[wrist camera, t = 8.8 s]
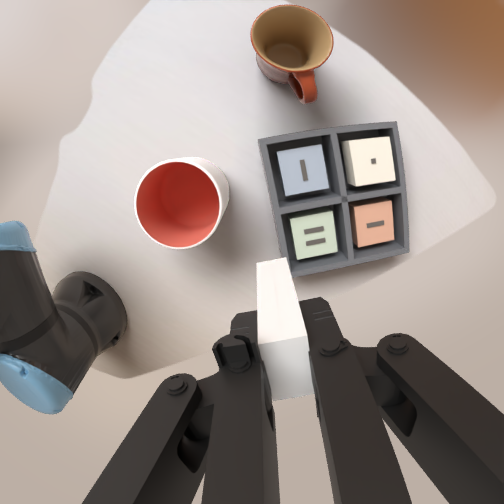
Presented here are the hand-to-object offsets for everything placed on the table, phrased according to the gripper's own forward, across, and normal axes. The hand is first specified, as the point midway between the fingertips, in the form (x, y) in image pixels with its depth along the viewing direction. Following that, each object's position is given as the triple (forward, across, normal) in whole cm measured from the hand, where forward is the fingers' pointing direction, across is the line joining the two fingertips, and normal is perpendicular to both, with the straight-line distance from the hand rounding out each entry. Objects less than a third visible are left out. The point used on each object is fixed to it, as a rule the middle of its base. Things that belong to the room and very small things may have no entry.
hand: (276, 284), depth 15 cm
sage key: (+26, +6, -5) cm, 27 cm away
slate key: (+26, +6, +3) cm, 27 cm away
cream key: (+24, +14, +3) cm, 28 cm away
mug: (+27, +7, +17) cm, 32 cm away
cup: (+27, -9, +3) cm, 28 cm away
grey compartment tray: (+26, +10, -1) cm, 28 cm away
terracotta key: (+26, +14, -5) cm, 30 cm away
